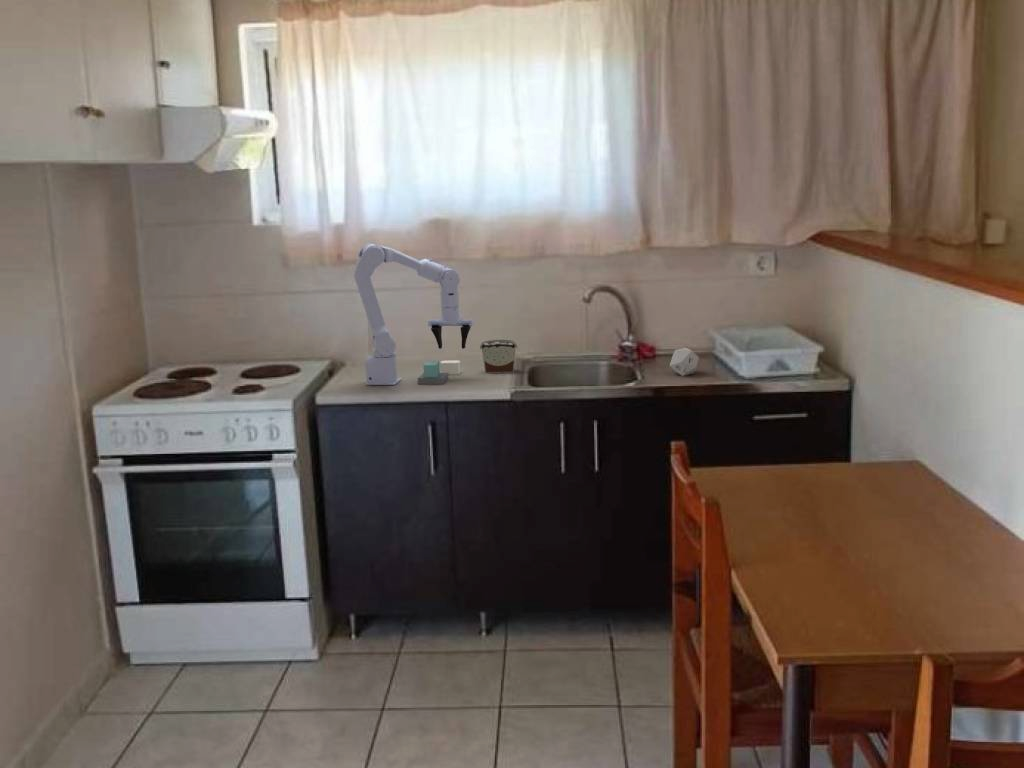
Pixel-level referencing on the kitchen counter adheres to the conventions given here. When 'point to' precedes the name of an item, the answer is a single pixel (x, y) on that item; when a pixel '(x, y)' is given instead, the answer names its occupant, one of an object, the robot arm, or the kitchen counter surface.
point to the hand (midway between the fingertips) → (452, 348)
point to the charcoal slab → (433, 379)
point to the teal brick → (431, 369)
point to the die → (684, 361)
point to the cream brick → (450, 367)
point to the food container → (498, 355)
